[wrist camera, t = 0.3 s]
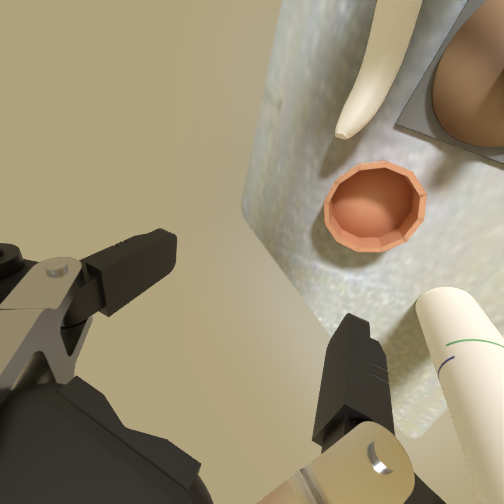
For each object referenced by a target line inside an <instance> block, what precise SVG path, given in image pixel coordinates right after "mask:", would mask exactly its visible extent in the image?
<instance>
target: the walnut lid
mask: <svg viewBox="0 0 504 504" xmlns="http://www.w3.org/2000/svg"><path fill="white" fill-rule="evenodd" d="M431 99H432V107H433V111H434V114H435V117H436V119H437V121H438V123H439V124H440V125H441V127H442V128H443V129H444V130H445V131H446V132H447V133H448V134H449V135H451V136H452V137H454V138H455V139H457V140H459V141H461V142H464V143H467V144H471V145H475V146H482V147H500V146H504V0H486V1H485V2H484V3H483V4H482V5H481V6H480V7H479V8H478V9H477V10H476V11H475V12H474V13H473V14H472V15H471V16H470V17H469V18H468V19H467V20H466V22H465V23H464V24H463V25H462V27H461V28H460V29H459V30H458V32H457V33H456V34H455V35H454V37H453V38H452V40H451V41H450V43H449V44H448V46H447V48H446V49H445V51H444V53H443V55H442V57H441V59H440V61H439V64H438V66H437V68H436V72H435V75H434V79H433V84H432V96H431Z"/></svg>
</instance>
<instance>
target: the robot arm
mask: <svg viewBox="0 0 504 504" xmlns="http://www.w3.org/2000/svg"><path fill="white" fill-rule="evenodd" d="M176 249H177V237H176V235H175V234H172V233H171V232H168V231H166V230H164V229H161V228H159V229H156V230H154V231H152V232H150V233H148V234H142V235H137V236H133V237H131V238H129V239H126V240H124V242H120V243H118V244H115V246H111V247H108V248H106V249H104V250H102V251H99V252H97V253H95V254H93V255H90V256H88V257H86V258H84V259H82V260H79V261H78V260H77V259H74V258H70V257H56V258H51V259H47V260H44V261H42V262H36V261H30V260H26V259H23V257H22V255H21V252H20V250H19V248H18V247H17V246H15V245H12V244H5V243H0V504H213V501H212V499H211V496H210V494H209V492H208V490H207V488H206V486H205V484H204V483H203V481H202V480H201V478H200V477H199V476H198V473H199V470H200V467H201V463H199V462H198V461H197V460H195V459H194V458H192V457H191V456H190V455H188V454H187V453H185V452H184V451H182V450H181V449H180V448H178V447H177V446H175V445H174V444H173V443H171V442H170V441H168V440H167V439H164V438H159V437H156V436H153V435H149V434H146V433H142V432H139V431H135V430H131V429H128V428H126V427H125V426H124V425H123V424H122V422H121V421H120V419H119V418H118V416H117V415H116V413H115V412H114V410H113V408H112V407H111V405H110V404H109V402H108V401H107V399H106V397H105V396H104V395H103V394H102V393H101V392H99V391H98V390H96V389H95V388H93V387H92V386H91V385H89V384H88V383H86V382H85V381H83V380H82V379H81V378H79V377H78V376H75V377H74V369H75V363H76V361H77V358H78V355H79V353H80V350H81V348H82V345H83V343H84V341H85V338H86V336H87V333H88V331H89V328H90V326H91V323H92V321H93V314H95V313H96V312H98V311H99V312H101V313H102V314H104V315H106V316H108V317H110V316H111V315H112V314H114V313H115V312H116V311H118V310H119V309H121V308H122V307H123V306H125V305H126V304H127V303H129V302H130V301H132V300H133V299H134V298H136V297H137V296H139V295H140V294H141V293H143V292H144V291H146V290H147V289H148V288H150V287H151V286H152V285H154V284H155V283H156V282H158V281H160V280H161V279H162V278H164V277H165V276H166V275H168V274H169V273H170V272H171V271H172V270H173V268H174V266H175V263H176ZM388 382H389V379H388V372H387V361H386V355H385V353H384V351H383V349H382V347H381V345H380V343H379V342H378V341H376V340H374V339H372V338H370V325H369V322H368V321H366V320H363V319H361V318H359V317H357V316H354V315H352V314H350V313H348V314H347V315H346V316H345V317H344V319H343V320H342V322H341V324H340V325H339V327H338V328H337V330H336V331H335V333H334V335H333V336H332V338H331V340H330V342H329V344H328V347H327V350H326V356H325V362H324V368H323V374H322V380H321V387H320V393H319V400H318V405H317V411H316V417H315V424H314V430H313V437H312V441H314V442H315V443H317V444H319V445H320V446H322V452H321V455H320V456H319V457H317V458H316V459H315V460H314V461H312V462H311V463H310V464H309V465H307V466H306V467H305V468H303V469H301V470H299V471H298V472H297V473H295V474H294V475H293V476H291V477H290V478H289V479H288V480H286V481H285V482H284V483H282V484H281V485H280V486H279V487H277V488H276V489H275V490H273V491H272V492H271V493H270V494H268V495H267V496H266V497H265V498H263V499H262V500H261V501H260V502H258V503H257V504H446V503H445V502H444V501H443V500H442V499H441V498H440V497H439V496H438V495H437V494H435V493H434V492H433V491H432V490H431V489H430V488H429V487H428V486H427V485H426V484H425V483H424V482H423V481H422V480H421V479H420V478H419V477H418V476H417V475H416V474H415V473H414V470H413V467H412V464H411V461H410V459H409V456H408V454H407V452H406V451H405V449H404V447H403V446H402V445H401V443H400V442H399V441H398V440H397V438H396V437H395V432H394V423H393V414H392V406H391V397H390V388H389V384H388Z"/></svg>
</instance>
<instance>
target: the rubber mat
mask: <svg viewBox="0 0 504 504" xmlns="http://www.w3.org/2000/svg"><path fill="white" fill-rule="evenodd" d="M485 1H486V0H468V2H467V3H466V5H465V7H464V8H463V10H462V12H461V13H460V15H459V17H458V19H457V20H456V22H455V24H454V25H453V27H452V29H451V30H450V32H449V34H448V35H447V37H446V39H445V41H444V42H443V44H442V46H441V47H440V49H439V51H438V52H437V54H436V56H435V57H434V59H433V61H432V62H431V64H430V66H429V68H428V69H427V71H426V73H425V74H424V76H423V78H422V79H421V81H420V83H419V84H418V86H417V88H416V89H415V91H414V93H413V95H412V96H411V98H410V100H409V101H408V103H407V105H406V106H405V108H404V110H403V111H402V113H401V115H400V116H399V118H398V120H397V122H396V123H395V124H397V125H400V126H403V127H405V128H408V129H411V130H413V131H416V132H419V133H422V134H424V135H427V136H430V137H432V138H435V139H438V140H441V141H443V142H446V143H449V144H451V145H454V146H457V147H460V148H462V149H465V150H468V151H470V152H473V153H476V154H479V155H481V156H484V157H487V158H489V159H492V160H495V161H498V162H500V163H503V164H504V146H500V147H482V146H475V145H471V144H467V143H464V142H461V141H459V140H457V139H455V138H454V137H452V136H451V135H449V134H448V133H447V132H446V131H445V130H444V129H443V128H442V127H441V125H440V124H439V123H438V121H437V119H436V117H435V114H434V111H433V107H432V99H431V96H432V84H433V79H434V75H435V72H436V68H437V66H438V64H439V61H440V59H441V57H442V55H443V53H444V51H445V49H446V48H447V46H448V44H449V43H450V41H451V40H452V38H453V37H454V35H455V34H456V33H457V32H458V30H459V29H460V28H461V27H462V25H463V24H464V23H465V22H466V20H467V19H468V18H469V17H470V16H471V15H472V14H473V13H474V12H475V11H476V10H477V9H478V8H479V7H480V6H481V5H482V4H483V3H484V2H485Z"/></svg>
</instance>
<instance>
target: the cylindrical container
mask: <svg viewBox="0 0 504 504" xmlns="http://www.w3.org/2000/svg"><path fill="white" fill-rule="evenodd" d="M415 309H416V313H417V316H418V319H419V322H420V325H421V328H422V331H423V334H424V337H425V340H426V343H427V346H428V349H429V352H430V355H431V358H432V361H433V364H434V367H435V370H436V372H437V375H438V378H439V381H440V384H441V387H442V390H443V393H444V396H445V399H446V402H447V405H448V408H449V411H450V414H451V417H452V420H453V423H454V426H455V429H456V432H457V435H458V438H459V441H460V444H461V447H462V450H463V453H464V456H465V459H466V462H467V465H468V468H469V470H470V474H471V477H472V480H473V483H474V485H475V489H476V491H477V494H478V497H479V500H480V503H481V504H504V338H503V337H502V336H501V334H500V333H499V332H498V330H497V329H496V328H495V326H494V325H493V324H492V322H491V321H490V320H489V318H488V317H487V316H486V314H485V313H484V312H483V310H482V309H481V308H480V306H479V305H478V304H477V302H476V301H475V300H474V298H473V297H472V296H471V295H470V294H468V293H467V292H465V291H463V290H460V289H457V288H452V287H439V288H434V289H431V290H428V291H427V292H425V293H423V294H422V295H421V296H420V297H419V298H418V300H417V302H416V305H415Z"/></svg>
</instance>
